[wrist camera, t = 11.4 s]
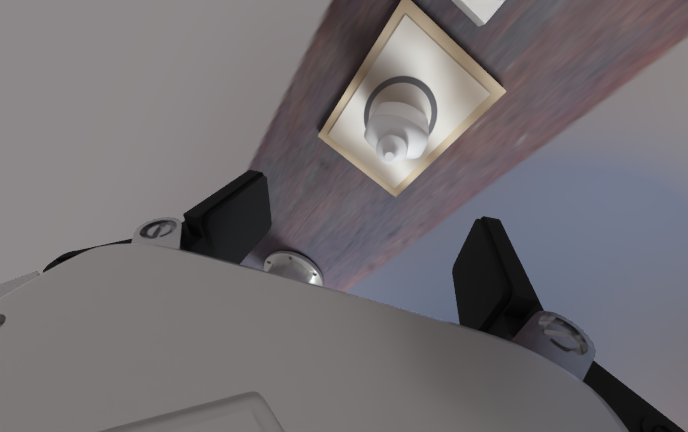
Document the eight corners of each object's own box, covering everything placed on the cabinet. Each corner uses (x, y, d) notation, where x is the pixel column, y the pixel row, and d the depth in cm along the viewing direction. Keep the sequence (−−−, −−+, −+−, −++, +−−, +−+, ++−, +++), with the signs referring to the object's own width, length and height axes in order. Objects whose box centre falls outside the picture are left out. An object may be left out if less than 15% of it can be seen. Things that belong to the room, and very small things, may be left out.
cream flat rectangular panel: (396, 193, 34) (395, 198, 33) (320, 133, 32) (317, 136, 31) (503, 89, 24) (507, 91, 23) (405, -4, 22) (404, -7, 21)
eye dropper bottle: (400, 83, 25) (387, 103, 16) (433, 124, 27) (439, 166, 17) (370, 113, 28) (341, 147, 18) (401, 150, 29) (391, 199, 19)
